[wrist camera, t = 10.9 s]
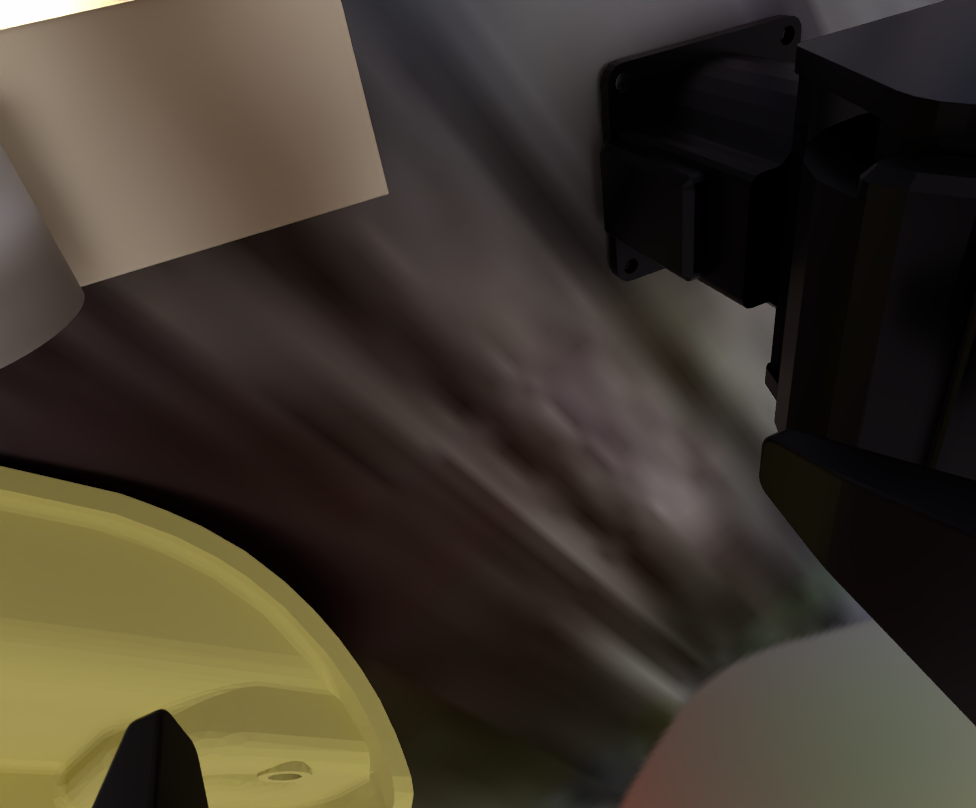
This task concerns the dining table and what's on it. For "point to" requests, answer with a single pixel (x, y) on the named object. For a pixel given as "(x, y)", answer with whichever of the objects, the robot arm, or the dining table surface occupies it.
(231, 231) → the hinge base
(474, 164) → the dining table surface
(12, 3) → the brass cylinder with flap
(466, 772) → the dining table surface
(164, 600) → the plastic component
